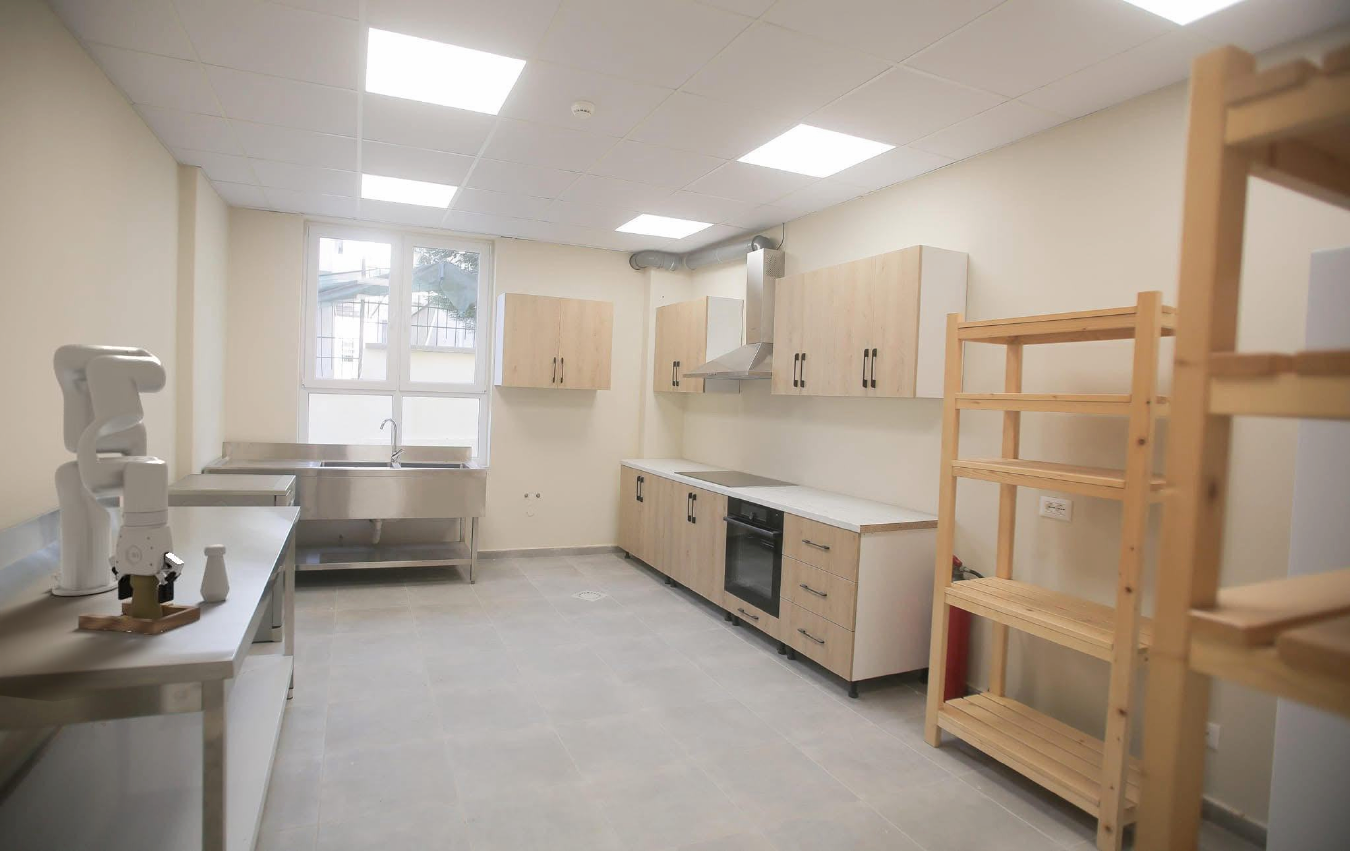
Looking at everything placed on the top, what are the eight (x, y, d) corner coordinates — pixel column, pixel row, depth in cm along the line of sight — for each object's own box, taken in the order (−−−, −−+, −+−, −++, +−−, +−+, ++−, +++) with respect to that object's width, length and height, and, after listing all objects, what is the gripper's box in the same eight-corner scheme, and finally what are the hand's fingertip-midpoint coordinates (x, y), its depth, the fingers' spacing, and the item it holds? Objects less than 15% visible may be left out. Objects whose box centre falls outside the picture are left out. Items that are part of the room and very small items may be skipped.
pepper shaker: (139, 619, 152) (139, 567, 152) (169, 618, 153) (169, 567, 153) (120, 628, 146) (120, 574, 146) (151, 627, 147) (151, 574, 147)
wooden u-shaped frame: (78, 627, 146) (78, 614, 146) (128, 612, 157) (128, 599, 157) (154, 634, 143) (154, 620, 143) (200, 618, 154) (200, 605, 154)
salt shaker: (214, 604, 164) (214, 548, 163) (193, 602, 165) (193, 546, 165) (235, 597, 170) (235, 543, 169) (214, 595, 171) (214, 541, 170)
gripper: (93, 519, 147) (93, 601, 147) (165, 524, 144) (165, 608, 144) (127, 513, 154) (127, 592, 155) (196, 518, 151) (196, 598, 152)
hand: (146, 600), depth 149 cm, fingers open, 9 cm apart
